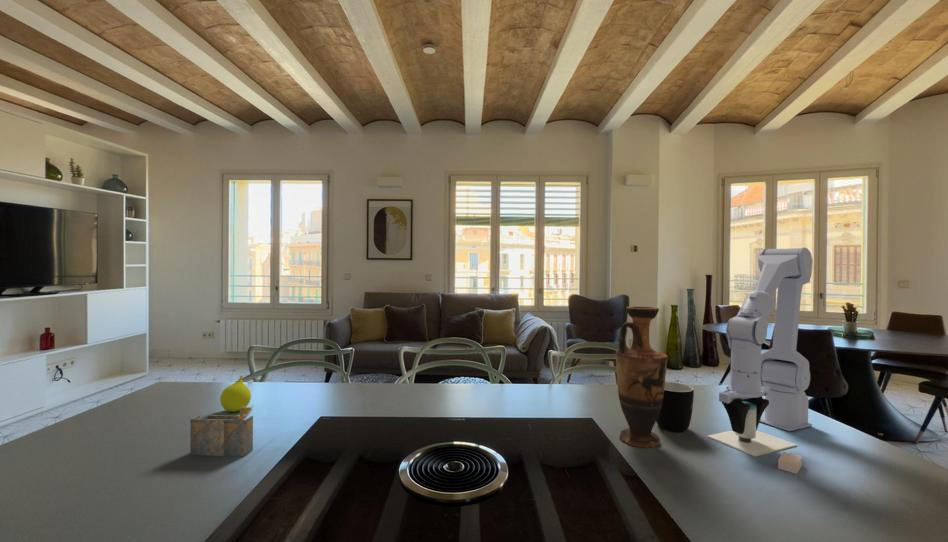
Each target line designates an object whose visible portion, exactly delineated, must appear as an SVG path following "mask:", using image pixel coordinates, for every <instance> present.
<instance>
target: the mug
mask: <svg viewBox="0 0 948 542" xmlns="http://www.w3.org/2000/svg"><path fill="white" fill-rule="evenodd" d="M694 390H695V389H694V387H692V386H690V385H689V384H686V383H681V382H675V381H665V387H664V396H663V402H662V407H661V410H660V413H659V416H658V418H657V420H656V422H655V423H656V424H657V425H658V427H659V428H660V429H661V430H664V431H665V432H670V433H678V434H679V433H685V432H687V431H688V429H689V427H690V424H691V421H692V415H693V408H694V398H695V397H694V396H695V395H694V394H695V393H694V392H695V391H694Z"/></svg>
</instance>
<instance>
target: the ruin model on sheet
mask: <svg viewBox="0 0 948 542" xmlns="http://www.w3.org/2000/svg"><path fill="white" fill-rule="evenodd" d="M253 407H254V406H253V405H251V406H250V407H249V406H246V407H244V405H243V406H242V408H240V411H239V415H223V414H221V415H219V414H218V415H217V414H209V415H208V418H202V416H201V414H198V415H196V416H194V417H192V418H190V444H189V446H190V452H189V453H190V456H220V457H221V456H222V457H247V456H248V455H249V454H250V453H252V452H253V450H254V449H253V448H254V437H253V436H254V425H253V424H254V416H253V415H250V414H251V411H252V410H253ZM249 415H250V416H249ZM248 416H249V417H248ZM247 417H248V418H247Z"/></svg>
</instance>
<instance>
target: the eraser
mask: <svg viewBox="0 0 948 542" xmlns="http://www.w3.org/2000/svg"><path fill="white" fill-rule="evenodd" d="M802 466H803V456H800V455H797V454H793V453H789V452H785V451H783V452H782V453H781V455H780V457H779V458H778V460H777V469H779V470H782V471H786V472H789V473H793V474H795V475H796V474H798V473H799V471H800V469H801V468H802Z"/></svg>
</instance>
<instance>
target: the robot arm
mask: <svg viewBox="0 0 948 542" xmlns="http://www.w3.org/2000/svg"><path fill="white" fill-rule="evenodd" d="M757 263H758V268H759V271H760V274H759V276H758V280H757V283H756V286H755V289H754V291H750V292H748V293H747V294H746V296H745V298H744V301H743V302H742V304H741V306H740V309H739V310H738V312H737V314H736V316H734V317H731V318H729V320H728V321H727V323H726V328H725V335H726V338H727V343H728V344H727V345H728V348H729V349H730V384H729V385H726V386H725V390H722V391H719V392H718V401H719V402H721V404H722V405H723V407H724V409H725V411H726V414H727V416H728V418H729V424H730V426H731V430H732V431H734V432H736V433H739V434H743V432H744V428H745V420H746V416H747V413H748V410H749V409H750V407H751V406H750V405H747V404H744V403H743V402H742V401H745V402H750V403H753V404H755V405H757V410H756V430H757V431H758V427H759V424H760V422H761V423H763V424H766V425H769V426H772V427H776V428H778V429H780V430H784V431H787V432H792V431H796V430H800V429H804V428H809V427H810V428H811V427H813V424H812V423H810V422H809V397H808V395H807V394H806V392H805V391H806V390H808V388H809V386H810V382H811V371H810V362H809V360H808V359H807V358H806V357H805V356H803V354H801V353H800V352H798V351H797V345H798V334H799V325H800V324H799V323H800V322H799V321H800V311H801V300H802V292H803V287H804V285H806V284H808V283H810V282H811V278H812V271H813V257H812V253H811V250H809V249H808V248H807V247H801V248H796V247H795V248H763V249H762V250H761V251H760V252H759V254H758V258H757ZM776 291H777V295H776V296H777V297H776V304H775V300H774V298H773V296H774V294H775V293H776ZM775 305H776V306H775ZM774 306H775V315H774V316H775V317H774V318H775V319H774V327H773V336H772V346H771V348H770V349H768V350H765V351H763V352H762V345H763V344H764V343H765V341H766V339H767V336H768V328H769V322H768V320H769V317H770V316H771V313H772V312H773V309H774ZM776 360H777V361H776ZM778 360H781V361H778ZM783 361H786V362H783ZM789 362H791V363H789ZM761 384H762V385H761ZM763 414H764V416H763Z"/></svg>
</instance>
